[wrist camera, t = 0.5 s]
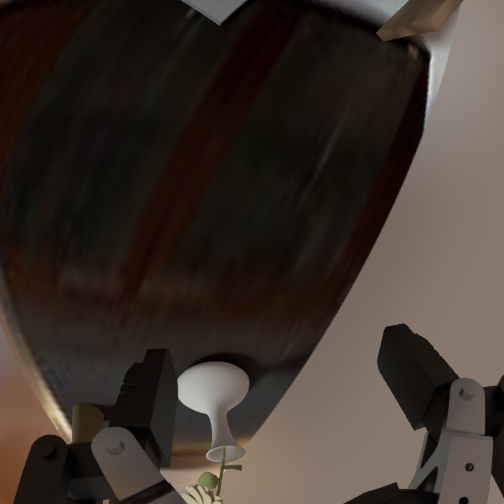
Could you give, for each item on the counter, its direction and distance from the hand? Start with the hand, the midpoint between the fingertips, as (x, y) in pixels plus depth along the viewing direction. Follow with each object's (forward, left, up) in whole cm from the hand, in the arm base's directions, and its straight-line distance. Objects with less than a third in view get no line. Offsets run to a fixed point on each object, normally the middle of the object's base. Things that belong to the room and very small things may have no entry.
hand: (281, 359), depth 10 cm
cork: (+4, -44, -25) cm, 51 cm away
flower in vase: (+17, -24, -25) cm, 38 cm away
